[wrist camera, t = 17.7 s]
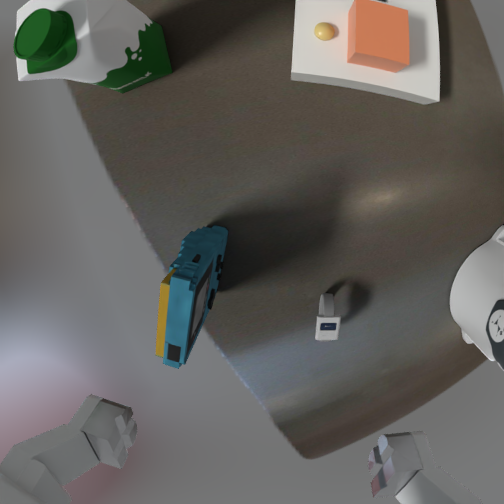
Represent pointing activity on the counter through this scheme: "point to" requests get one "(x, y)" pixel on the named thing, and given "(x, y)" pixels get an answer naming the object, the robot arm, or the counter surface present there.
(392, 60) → the cap
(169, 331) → the handheld gaming console
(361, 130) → the counter surface
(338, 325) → the wristwatch
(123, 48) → the milk carton
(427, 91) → the box
